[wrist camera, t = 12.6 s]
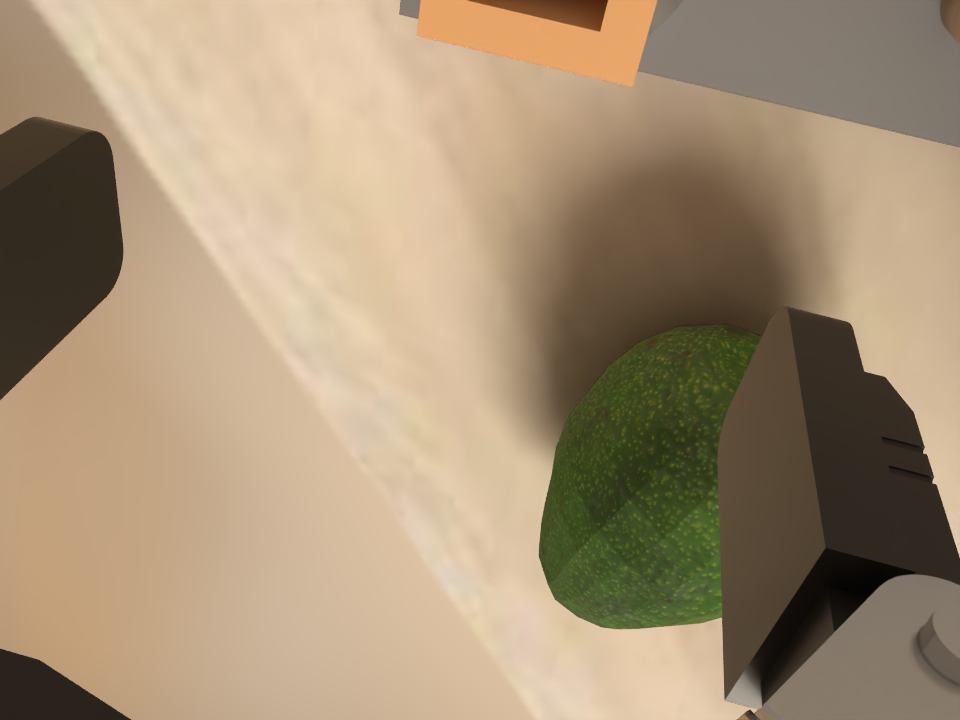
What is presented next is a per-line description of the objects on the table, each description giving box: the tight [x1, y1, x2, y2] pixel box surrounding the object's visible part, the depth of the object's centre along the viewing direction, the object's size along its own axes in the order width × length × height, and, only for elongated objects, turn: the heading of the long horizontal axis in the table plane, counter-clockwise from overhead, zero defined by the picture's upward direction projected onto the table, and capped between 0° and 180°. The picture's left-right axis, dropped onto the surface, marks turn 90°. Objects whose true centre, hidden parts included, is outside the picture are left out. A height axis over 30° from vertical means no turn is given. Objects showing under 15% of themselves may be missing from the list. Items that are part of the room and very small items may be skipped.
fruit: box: [539, 324, 762, 629], centre depth 33 cm, size 15×10×10 cm, turn 152°
